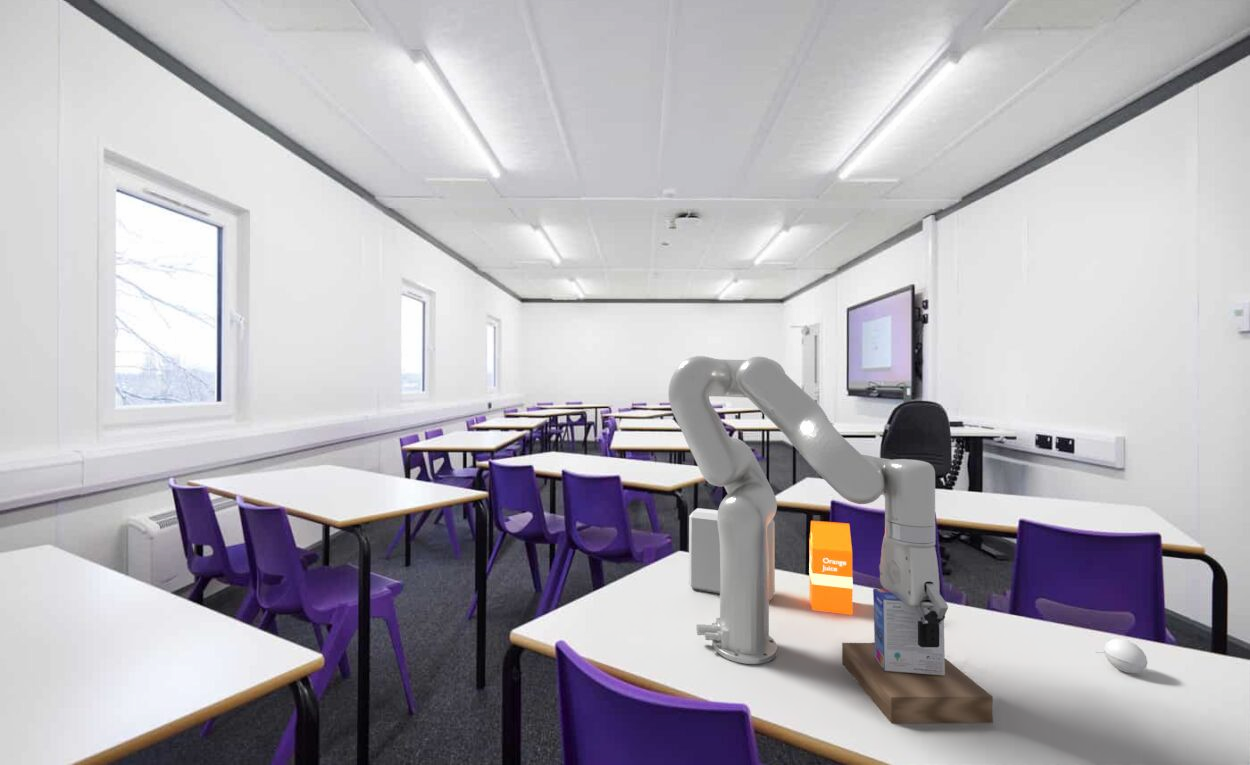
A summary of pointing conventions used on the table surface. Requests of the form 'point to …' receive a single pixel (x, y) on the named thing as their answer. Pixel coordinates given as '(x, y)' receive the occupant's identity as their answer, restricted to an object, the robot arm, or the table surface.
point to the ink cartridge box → (903, 638)
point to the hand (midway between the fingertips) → (910, 631)
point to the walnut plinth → (918, 691)
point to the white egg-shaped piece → (1125, 656)
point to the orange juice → (830, 567)
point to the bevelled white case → (715, 552)
